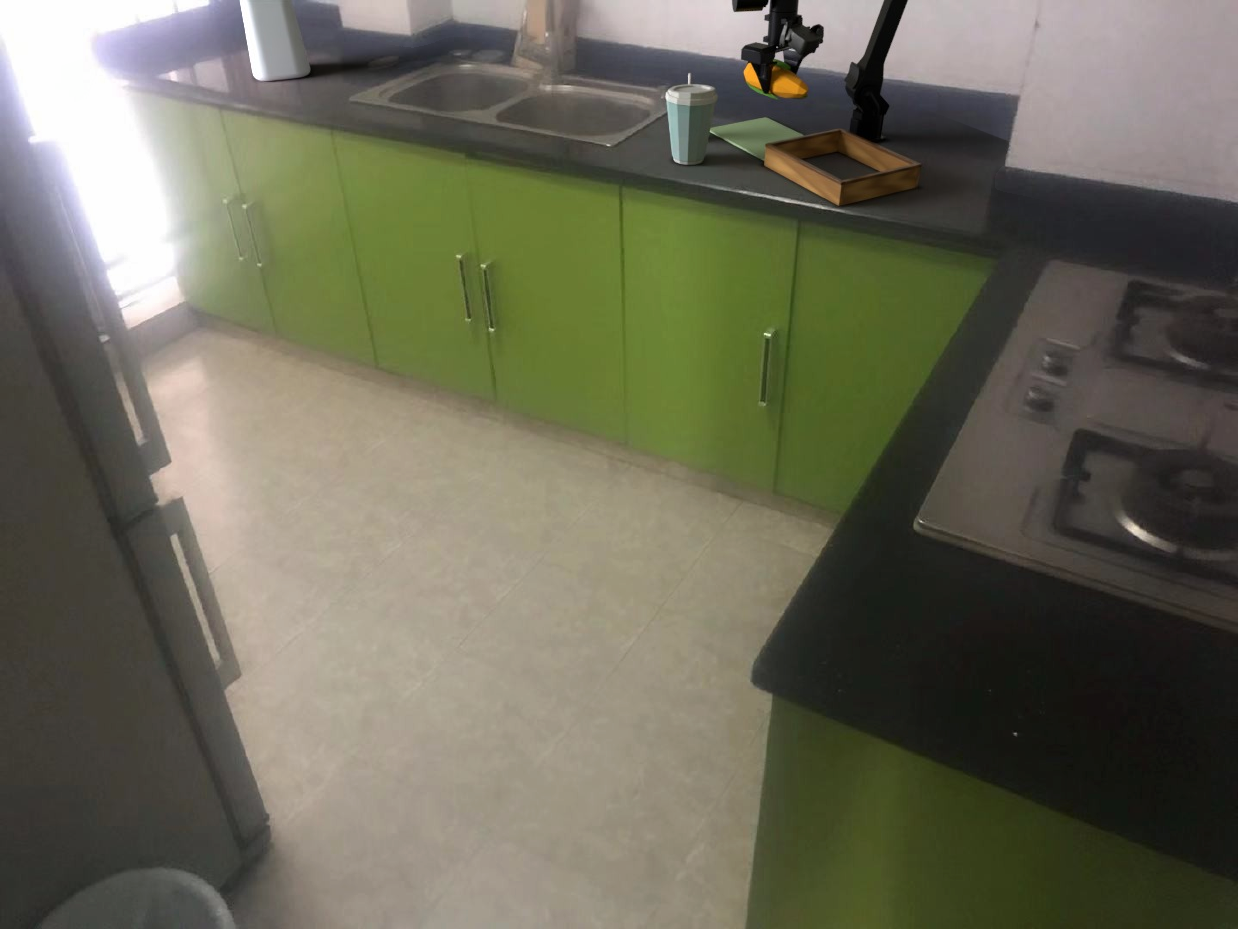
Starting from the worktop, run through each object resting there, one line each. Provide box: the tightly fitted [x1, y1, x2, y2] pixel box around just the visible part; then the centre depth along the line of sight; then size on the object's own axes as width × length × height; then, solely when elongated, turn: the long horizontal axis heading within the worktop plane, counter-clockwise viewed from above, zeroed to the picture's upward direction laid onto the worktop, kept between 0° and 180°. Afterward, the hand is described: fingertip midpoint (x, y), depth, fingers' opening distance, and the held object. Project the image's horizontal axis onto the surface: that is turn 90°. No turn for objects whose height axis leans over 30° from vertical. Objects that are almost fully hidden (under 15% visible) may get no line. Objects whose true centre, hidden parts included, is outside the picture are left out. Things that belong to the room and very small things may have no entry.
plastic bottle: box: [239, 0, 311, 82], centre depth 253 cm, size 15×15×28 cm
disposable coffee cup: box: [664, 83, 719, 166], centre depth 196 cm, size 11×11×15 cm
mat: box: [710, 116, 806, 162], centre depth 209 cm, size 16×24×1 cm, turn 27°
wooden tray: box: [763, 127, 922, 207], centre depth 190 cm, size 19×25×5 cm
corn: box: [743, 58, 809, 101], centre depth 199 cm, size 7×8×20 cm
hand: (777, 89), depth 201 cm, fingers closed on corn, 7 cm apart
